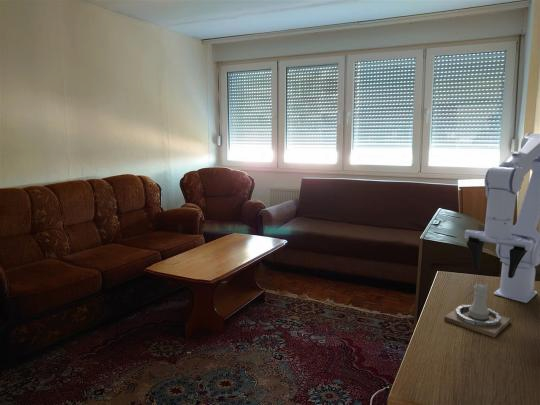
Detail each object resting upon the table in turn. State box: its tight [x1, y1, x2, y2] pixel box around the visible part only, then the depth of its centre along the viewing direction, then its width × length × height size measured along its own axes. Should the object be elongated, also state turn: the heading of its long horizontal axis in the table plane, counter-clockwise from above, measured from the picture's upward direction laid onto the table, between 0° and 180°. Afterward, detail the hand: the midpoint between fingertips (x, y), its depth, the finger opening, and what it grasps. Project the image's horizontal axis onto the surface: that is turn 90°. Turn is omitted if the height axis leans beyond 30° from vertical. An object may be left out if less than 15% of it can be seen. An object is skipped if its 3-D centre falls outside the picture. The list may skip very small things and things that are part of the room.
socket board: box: [443, 303, 512, 338], centre depth 98 cm, size 10×11×2 cm
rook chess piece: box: [468, 281, 490, 320], centre depth 98 cm, size 4×4×8 cm
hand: (493, 272), depth 102 cm, fingers open, 7 cm apart
